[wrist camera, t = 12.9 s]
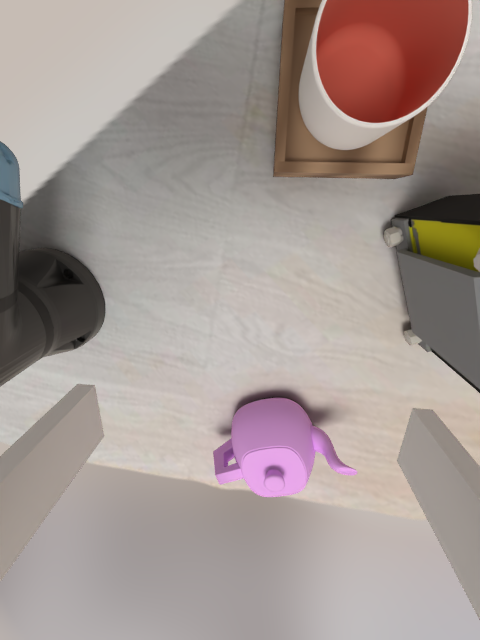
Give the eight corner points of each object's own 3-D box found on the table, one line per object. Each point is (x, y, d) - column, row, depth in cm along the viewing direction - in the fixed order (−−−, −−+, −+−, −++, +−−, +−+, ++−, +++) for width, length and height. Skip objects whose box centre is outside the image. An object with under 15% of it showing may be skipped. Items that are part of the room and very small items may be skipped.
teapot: (343, 446, 48) (364, 511, 38) (229, 462, 52) (220, 526, 41) (331, 380, 44) (351, 433, 34) (207, 402, 47) (191, 456, 37)
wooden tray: (273, 176, 34) (274, 172, 30) (282, 23, 29) (285, -8, 25) (394, 178, 33) (412, 174, 29) (425, 21, 28) (453, -12, 24)
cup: (375, 164, 30) (423, 145, 21) (283, 136, 30) (291, 105, 21) (423, 45, 26) (508, -44, 17) (318, 12, 26) (347, -95, 17)
